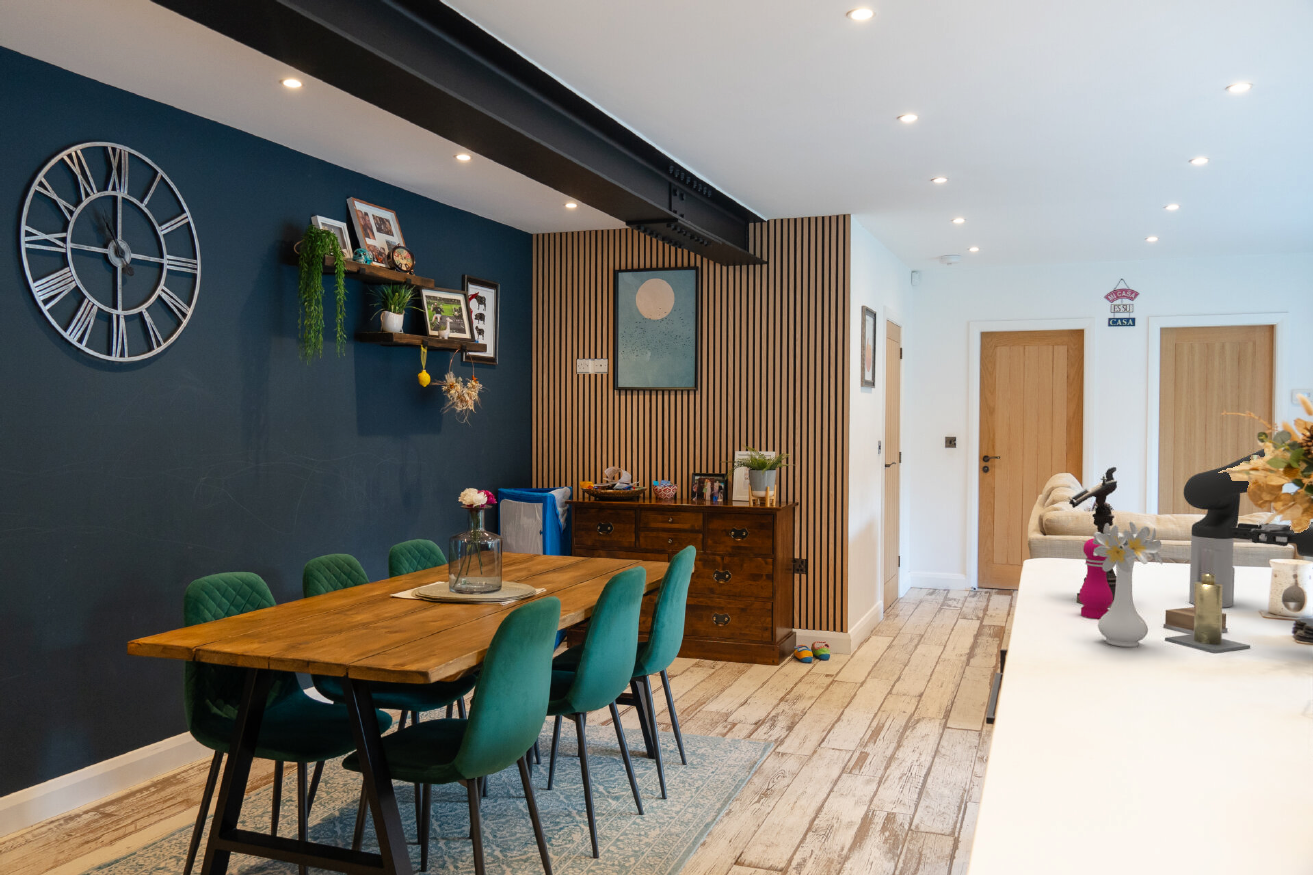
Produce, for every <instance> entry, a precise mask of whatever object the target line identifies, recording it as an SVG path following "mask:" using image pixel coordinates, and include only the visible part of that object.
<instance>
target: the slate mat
mask: <svg viewBox="0 0 1313 875" xmlns="http://www.w3.org/2000/svg"><path fill="white" fill-rule="evenodd" d="M1164 641H1166V642H1170V643H1173V644H1177V645H1181V646H1184V647H1189V648H1193V649H1196V650H1200V651H1205V652H1207V653H1212V654H1218V653H1224V652H1233V651H1240V650H1247V649H1251V645H1250V644H1247V643H1242V642H1238V641H1234V640H1229V639H1225V638H1222V643H1221V644H1205V643H1200V642H1196V641H1194V634H1183V635H1174V636H1169V637H1168V636H1167V637H1164Z"/></svg>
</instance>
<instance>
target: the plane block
mask: <svg viewBox="0 0 1313 875" xmlns="http://www.w3.org/2000/svg"><path fill="white" fill-rule="evenodd" d="M1164 618H1165V619H1164V620H1165V622H1164V623H1163V627H1162V628H1164V629H1167V630H1172V631H1175V632H1179V633H1184V634H1186V635H1191V634H1194V606H1191V607H1181V608H1173V609H1165V617H1164ZM1223 633H1228V627H1227V613H1223V612H1222V634H1223Z"/></svg>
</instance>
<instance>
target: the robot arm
mask: <svg viewBox="0 0 1313 875" xmlns="http://www.w3.org/2000/svg"><path fill="white" fill-rule="evenodd" d="M1251 455H1259V456H1260V457H1264V456H1265V453H1264V448H1263V449H1260V450H1258V451H1256V452H1254V453H1252V454H1249V455H1247V456H1244V457H1242V458H1240V459H1237V460H1235V461H1233V462H1231V463H1229V464H1226V465H1224V466H1221V467H1217V468H1215V469H1211V470H1207V471H1203V472H1199V473H1196V474H1194V475H1192V476H1191V477H1190V478H1188V480H1187V482H1186V483H1185V485H1184V487H1183V498H1184V499H1185V501H1186V502H1187V503H1188V504H1189V505H1190V506H1191V507H1193V508H1196V509H1199V510H1207V512H1206V515H1205V516H1204V517H1202V519H1200V520H1198V521H1196V522H1194V523H1193V524H1192V525H1191V530H1190V531H1191V532H1190V533H1191V536H1190V541H1191V542H1190V567H1189V568H1190V569H1189V593H1188V595H1189V596H1188V598H1189V603H1190V604H1193V605H1194V584H1195V582H1202V574H1203V573H1207V574H1215V583H1219V584H1222V608H1231V607H1232V606H1234V603H1235V602H1234V600H1235V599H1234V598H1235V597H1234V596H1235V572H1236V571H1235V567H1234V566H1233V565H1234V541H1235V540H1234V539H1237V540H1238V539H1239V540H1247V541H1250V542H1251V543H1253V544H1264V545H1272V546H1273V545H1274V546H1275V545H1276V546H1279V547H1286V546H1289V544H1292V545H1293V544H1294V545H1296V554H1298V556H1300V557H1310V558H1313V522H1311V524H1310V525H1309V528H1308V529H1307V530H1304V531H1303V532H1301V533H1294V531H1293V530H1290V527H1291V526H1292V525H1289V524H1277V523H1268V522H1267V523H1259V524H1254V523H1245V522H1243V523H1242V522H1239V516H1240V515H1239V513H1240V503H1241V494H1244V493H1248V492H1247V488H1248V485H1249V482H1248V481H1232V480H1231V477H1230V475H1229V473H1227V472H1223V473H1218V472H1220V471H1222V470H1226V469H1227V468H1233V467H1235V466H1238V465H1240V463H1242V462H1243V461H1250V460H1251V459H1250V457H1251ZM1238 522H1239V523H1238Z"/></svg>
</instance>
